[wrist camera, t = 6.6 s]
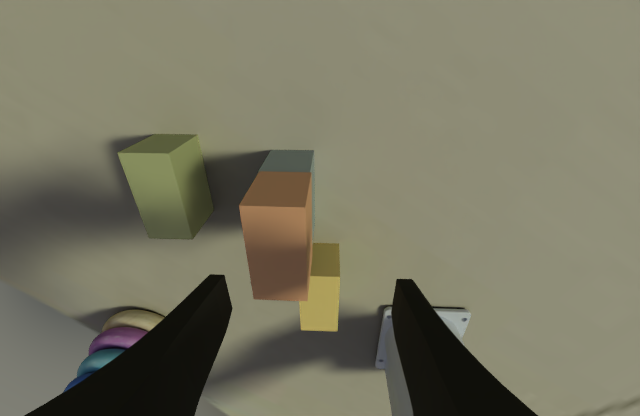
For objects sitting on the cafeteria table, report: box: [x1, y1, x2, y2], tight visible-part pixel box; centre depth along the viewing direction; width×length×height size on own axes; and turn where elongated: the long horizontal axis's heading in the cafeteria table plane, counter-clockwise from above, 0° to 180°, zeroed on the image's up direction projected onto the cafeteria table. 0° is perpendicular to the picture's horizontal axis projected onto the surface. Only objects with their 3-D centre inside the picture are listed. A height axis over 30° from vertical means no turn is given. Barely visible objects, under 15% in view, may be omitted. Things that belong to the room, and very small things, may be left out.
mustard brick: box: [299, 243, 340, 331], centre depth 23 cm, size 6×3×4 cm, turn 0°
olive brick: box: [118, 134, 214, 239], centre depth 19 cm, size 6×3×4 cm, turn 0°
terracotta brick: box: [239, 171, 312, 301], centre depth 16 cm, size 6×3×4 cm, turn 0°
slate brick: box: [258, 150, 315, 246], centre depth 19 cm, size 6×3×4 cm, turn 0°
